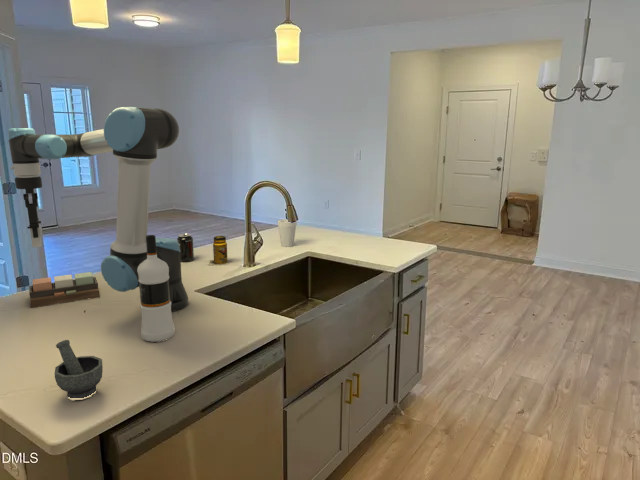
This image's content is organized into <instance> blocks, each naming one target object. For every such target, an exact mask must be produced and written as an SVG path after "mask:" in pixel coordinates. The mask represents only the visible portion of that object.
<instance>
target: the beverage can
mask: <svg viewBox="0 0 640 480" xmlns="http://www.w3.org/2000/svg"><path fill="white" fill-rule="evenodd" d="M176 241H178V243H179V248H180V259H181V263H188V262H189V263H190V262H192V261H193V260H194V258H195V253H194V238H193V236H192V234H191V233H180V234H178V237H177V239H176Z"/></svg>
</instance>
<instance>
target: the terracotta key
mask: <svg viewBox="0 0 640 480" xmlns="http://www.w3.org/2000/svg"><path fill="white" fill-rule="evenodd" d="M52 283H53V281H52V277H49V276H48V277H43V278H42V277H41V278H36V279H35V278H33V279H32V286H33V291H34V292H36V291H43V290H50V289H52Z"/></svg>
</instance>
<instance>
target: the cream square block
mask: <svg viewBox="0 0 640 480" xmlns="http://www.w3.org/2000/svg"><path fill="white" fill-rule="evenodd" d="M53 279H54V280H53V281H54V282H55V288H56V289H57V288H64V287H71V286H73V280H74V279H73V275H72V274H65V275H57V276H53Z"/></svg>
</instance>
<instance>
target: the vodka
mask: <svg viewBox="0 0 640 480" xmlns="http://www.w3.org/2000/svg"><path fill="white" fill-rule="evenodd" d="M156 238H157V237H156V235H155V234H147V236H146V247H147V259H146V260H145V261H143V262H142V263H141V264H140V265H139V266H138V268H137V272H138V279H139V280H138V281H139V287H138V288H139V289H138V290H139V300H140V305H139V308H140V311H141V329H140V336H141V338H142V339H143V340H144V341H146V342H149V341H150V343H159V342H158V341H160V342H164V341H166V339H167V340H170V339H171V338H172V337H173V336H174V335H175V332H176V331H175V330H176V329H175V328H176V327H175V325H174V321H173V316H172V312H171V301H170V291H169V267H168V265H167V263H166V262H164V261H162V260H161V259H159V258H157V250H156ZM163 340H164V341H163Z"/></svg>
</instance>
